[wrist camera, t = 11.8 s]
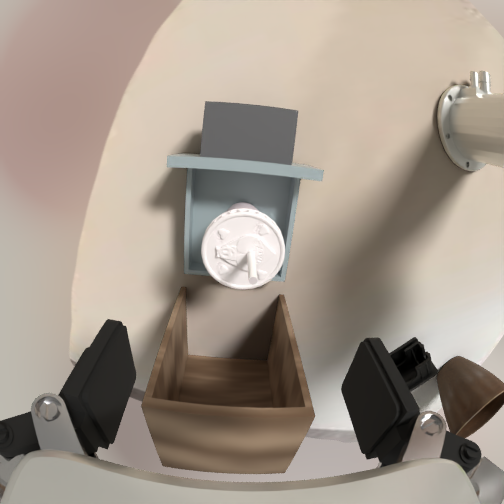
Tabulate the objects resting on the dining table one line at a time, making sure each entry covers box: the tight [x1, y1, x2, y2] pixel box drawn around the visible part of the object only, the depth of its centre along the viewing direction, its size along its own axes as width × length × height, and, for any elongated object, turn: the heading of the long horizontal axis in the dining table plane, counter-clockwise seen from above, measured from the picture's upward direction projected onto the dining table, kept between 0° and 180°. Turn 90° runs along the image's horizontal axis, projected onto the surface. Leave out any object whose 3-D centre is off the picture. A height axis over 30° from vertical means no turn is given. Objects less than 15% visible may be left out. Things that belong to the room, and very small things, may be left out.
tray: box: [167, 101, 324, 282], centre depth 27 cm, size 18×14×6 cm
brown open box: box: [141, 287, 315, 474], centre depth 28 cm, size 12×13×19 cm
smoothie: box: [201, 202, 285, 290], centre depth 23 cm, size 6×6×14 cm
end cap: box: [389, 337, 438, 392], centre depth 39 cm, size 10×7×7 cm
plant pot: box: [437, 356, 504, 438], centre depth 37 cm, size 15×15×16 cm
